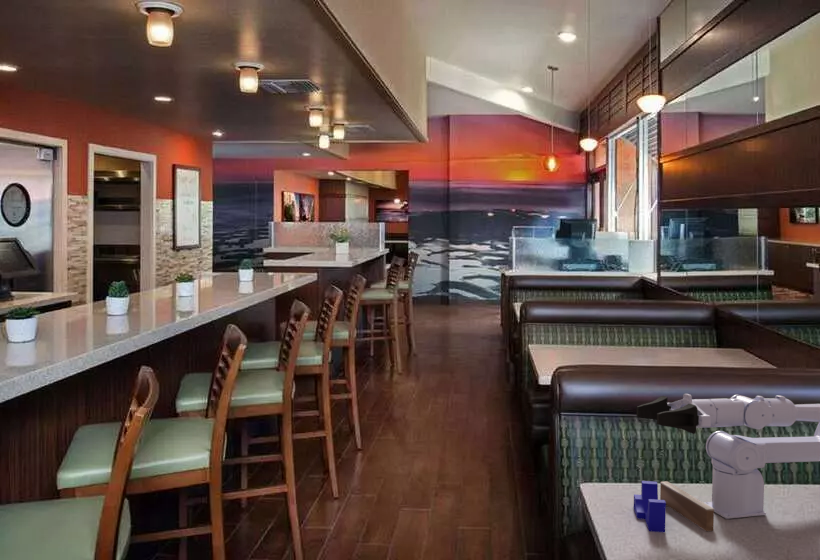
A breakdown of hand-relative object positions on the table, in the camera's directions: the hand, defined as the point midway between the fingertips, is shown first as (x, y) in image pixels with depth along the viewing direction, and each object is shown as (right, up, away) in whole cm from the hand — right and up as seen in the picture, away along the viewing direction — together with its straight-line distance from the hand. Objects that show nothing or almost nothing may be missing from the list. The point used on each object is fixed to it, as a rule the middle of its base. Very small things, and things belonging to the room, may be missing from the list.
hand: (647, 415), depth 143 cm
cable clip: (+1, -22, +1) cm, 22 cm away
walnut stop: (+9, -21, +3) cm, 23 cm away
